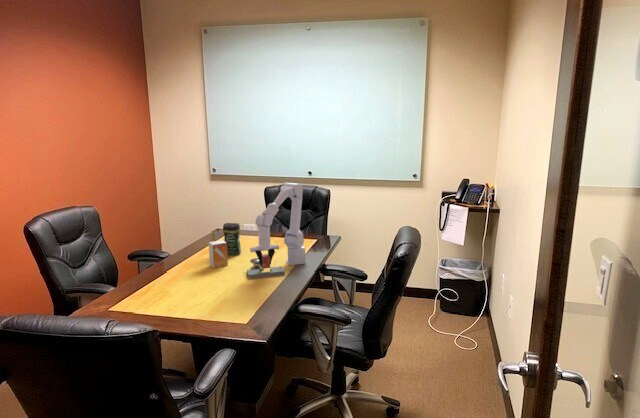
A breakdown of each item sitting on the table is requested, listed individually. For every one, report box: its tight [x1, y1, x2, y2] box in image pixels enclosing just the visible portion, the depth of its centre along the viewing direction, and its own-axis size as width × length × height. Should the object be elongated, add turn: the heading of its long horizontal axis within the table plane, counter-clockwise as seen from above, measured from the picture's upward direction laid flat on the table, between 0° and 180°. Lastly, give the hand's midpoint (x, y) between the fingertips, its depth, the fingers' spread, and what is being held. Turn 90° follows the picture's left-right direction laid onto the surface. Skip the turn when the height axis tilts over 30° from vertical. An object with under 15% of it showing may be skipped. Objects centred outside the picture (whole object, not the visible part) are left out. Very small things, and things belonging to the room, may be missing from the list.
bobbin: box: [250, 257, 265, 272], centre depth 224 cm, size 7×7×5 cm
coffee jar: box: [222, 222, 242, 256], centre depth 249 cm, size 10×8×19 cm
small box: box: [208, 239, 229, 269], centre depth 229 cm, size 8×6×13 cm
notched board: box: [246, 265, 286, 280], centre depth 216 cm, size 18×8×2 cm, turn 106°
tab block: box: [261, 253, 271, 270], centre depth 216 cm, size 4×4×6 cm
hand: (265, 264), depth 216 cm, fingers closed on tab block, 4 cm apart
